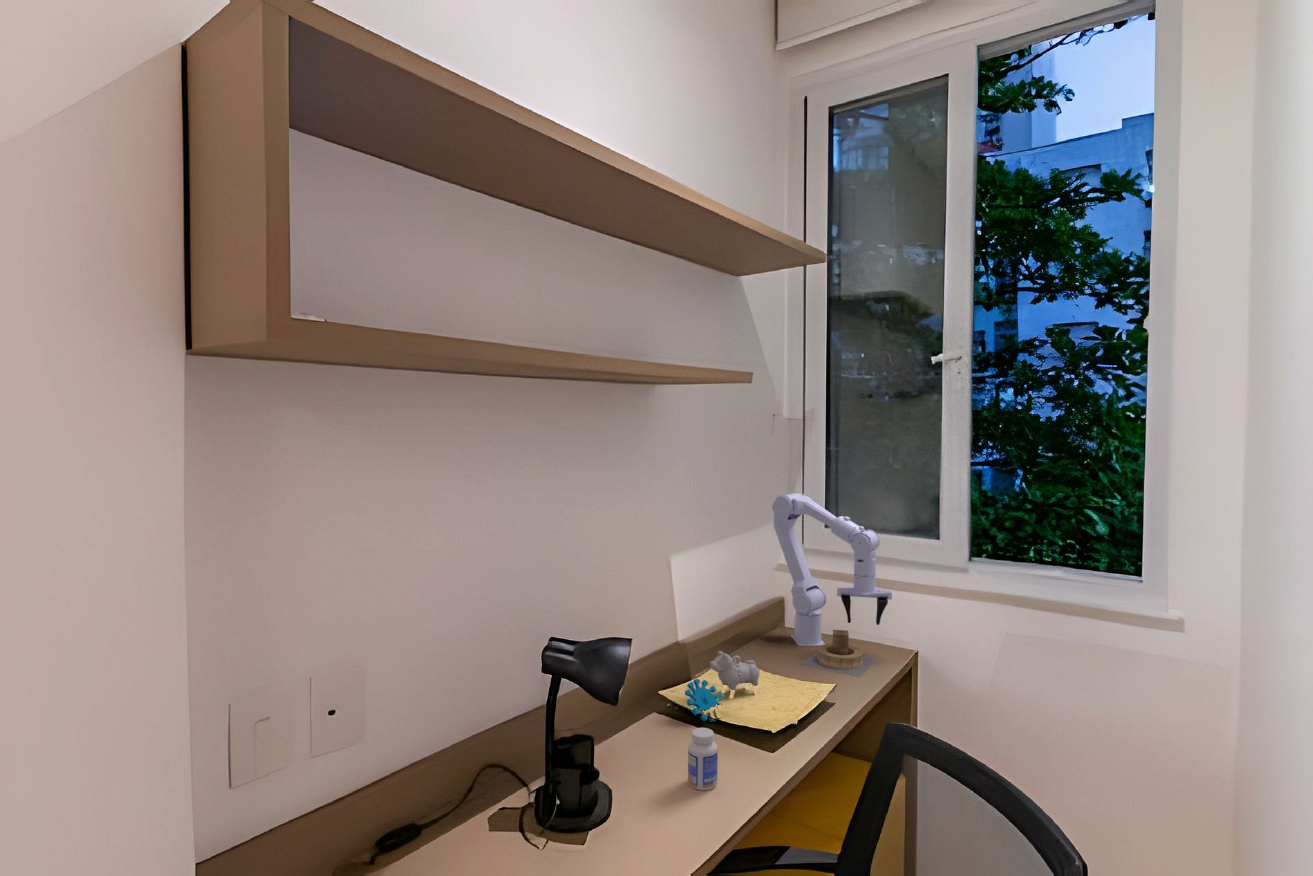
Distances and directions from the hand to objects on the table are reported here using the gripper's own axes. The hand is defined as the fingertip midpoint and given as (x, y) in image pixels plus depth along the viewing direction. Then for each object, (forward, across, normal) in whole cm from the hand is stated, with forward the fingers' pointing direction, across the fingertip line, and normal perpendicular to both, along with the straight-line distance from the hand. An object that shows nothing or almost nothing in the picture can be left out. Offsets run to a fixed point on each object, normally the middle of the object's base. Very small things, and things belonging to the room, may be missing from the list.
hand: (863, 622), depth 204 cm
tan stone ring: (+9, -6, -7) cm, 13 cm away
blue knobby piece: (+10, -38, -48) cm, 62 cm away
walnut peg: (+9, -6, -7) cm, 13 cm away
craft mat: (+9, -6, -7) cm, 13 cm away
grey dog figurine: (+10, -32, -34) cm, 48 cm away
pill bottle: (+10, -34, -78) cm, 85 cm away
